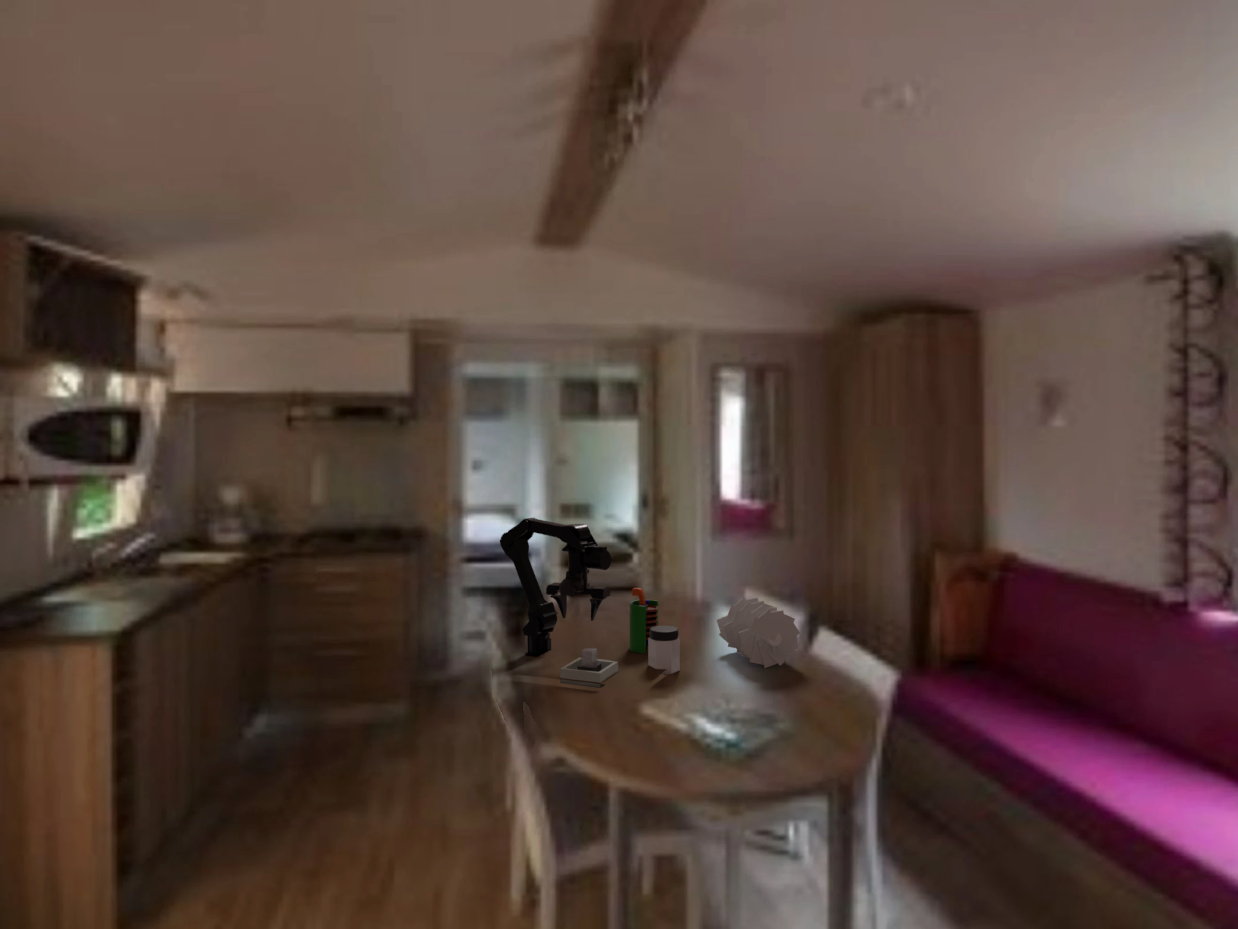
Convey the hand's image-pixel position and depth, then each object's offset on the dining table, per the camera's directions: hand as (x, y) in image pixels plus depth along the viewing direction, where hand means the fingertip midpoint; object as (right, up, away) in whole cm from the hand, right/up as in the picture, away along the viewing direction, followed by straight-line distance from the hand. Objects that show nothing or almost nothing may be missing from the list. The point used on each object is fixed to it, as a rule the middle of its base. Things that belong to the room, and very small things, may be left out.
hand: (578, 619), depth 257 cm
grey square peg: (+4, -13, -18) cm, 23 cm away
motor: (+20, -12, +9) cm, 25 cm away
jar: (+25, -13, -10) cm, 30 cm away
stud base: (+7, -13, -6) cm, 16 cm away
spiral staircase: (+53, -12, +1) cm, 55 cm away
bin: (+4, -13, -18) cm, 23 cm away
